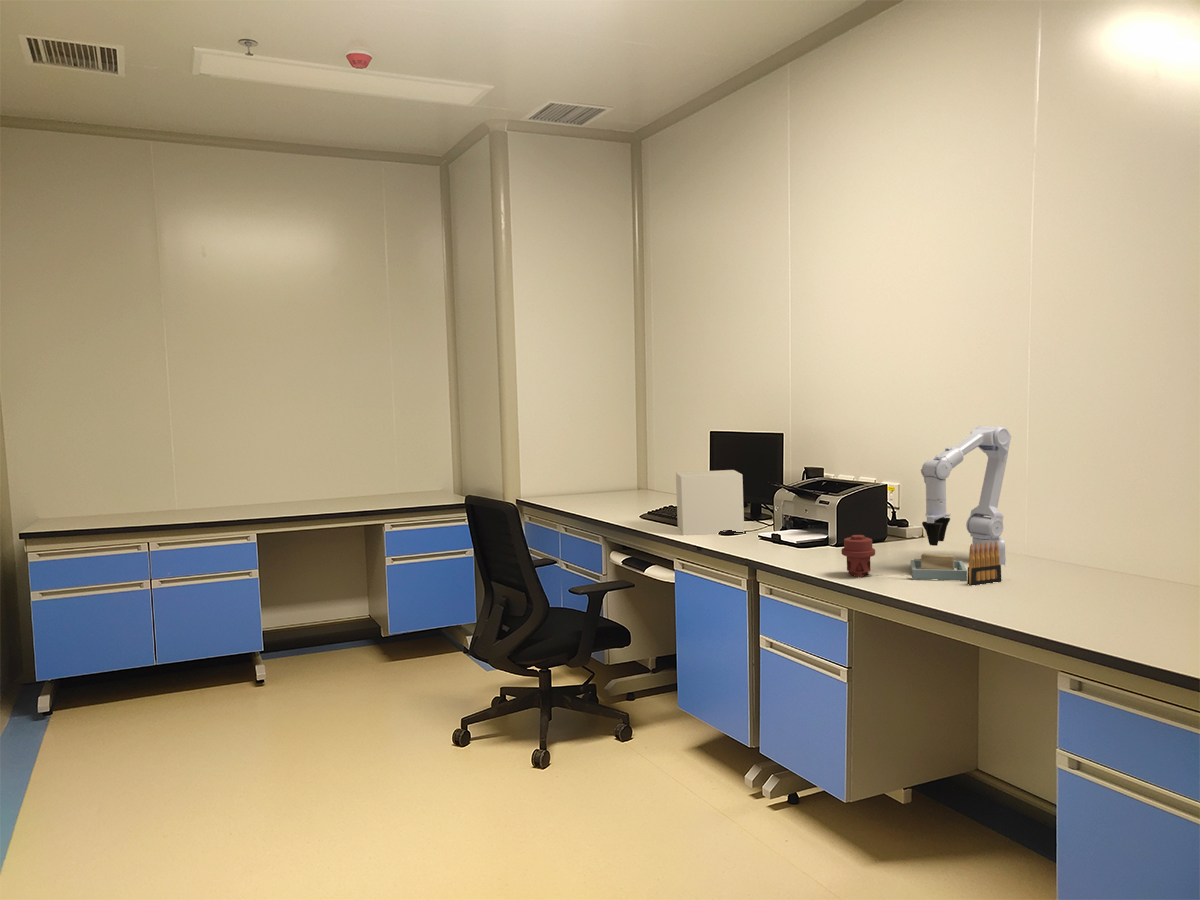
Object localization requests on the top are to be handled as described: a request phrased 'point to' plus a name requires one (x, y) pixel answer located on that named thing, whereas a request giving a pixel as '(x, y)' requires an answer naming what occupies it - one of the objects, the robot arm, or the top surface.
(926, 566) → the wooden block
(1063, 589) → the top surface
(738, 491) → the cube
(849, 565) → the mechanical component
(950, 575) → the bin
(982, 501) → the robot arm
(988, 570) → the ammunition clip
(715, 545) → the top surface
